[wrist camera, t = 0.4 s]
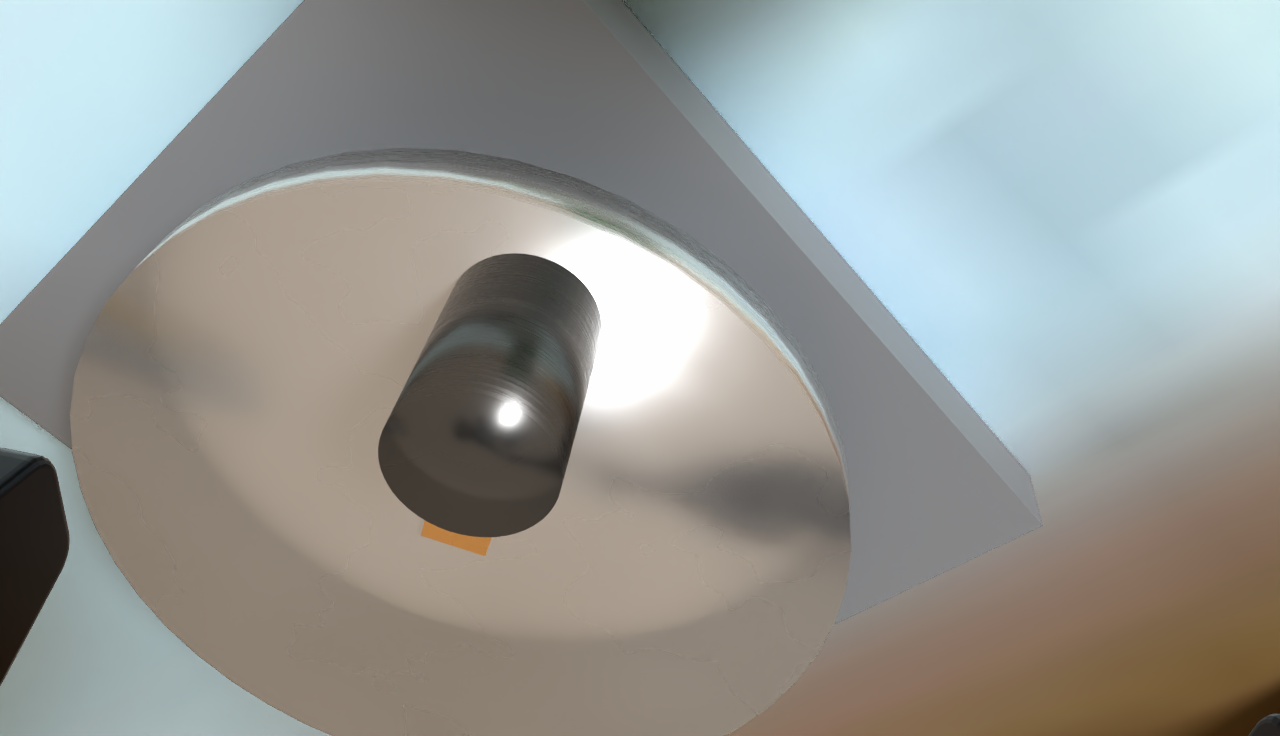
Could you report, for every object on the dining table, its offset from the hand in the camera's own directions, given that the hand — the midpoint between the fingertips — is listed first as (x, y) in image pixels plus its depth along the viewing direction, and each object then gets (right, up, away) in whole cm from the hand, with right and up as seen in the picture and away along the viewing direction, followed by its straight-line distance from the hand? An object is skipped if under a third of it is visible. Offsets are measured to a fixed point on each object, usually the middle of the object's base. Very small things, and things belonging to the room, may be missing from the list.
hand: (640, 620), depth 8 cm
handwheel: (-3, -1, +13) cm, 13 cm away
